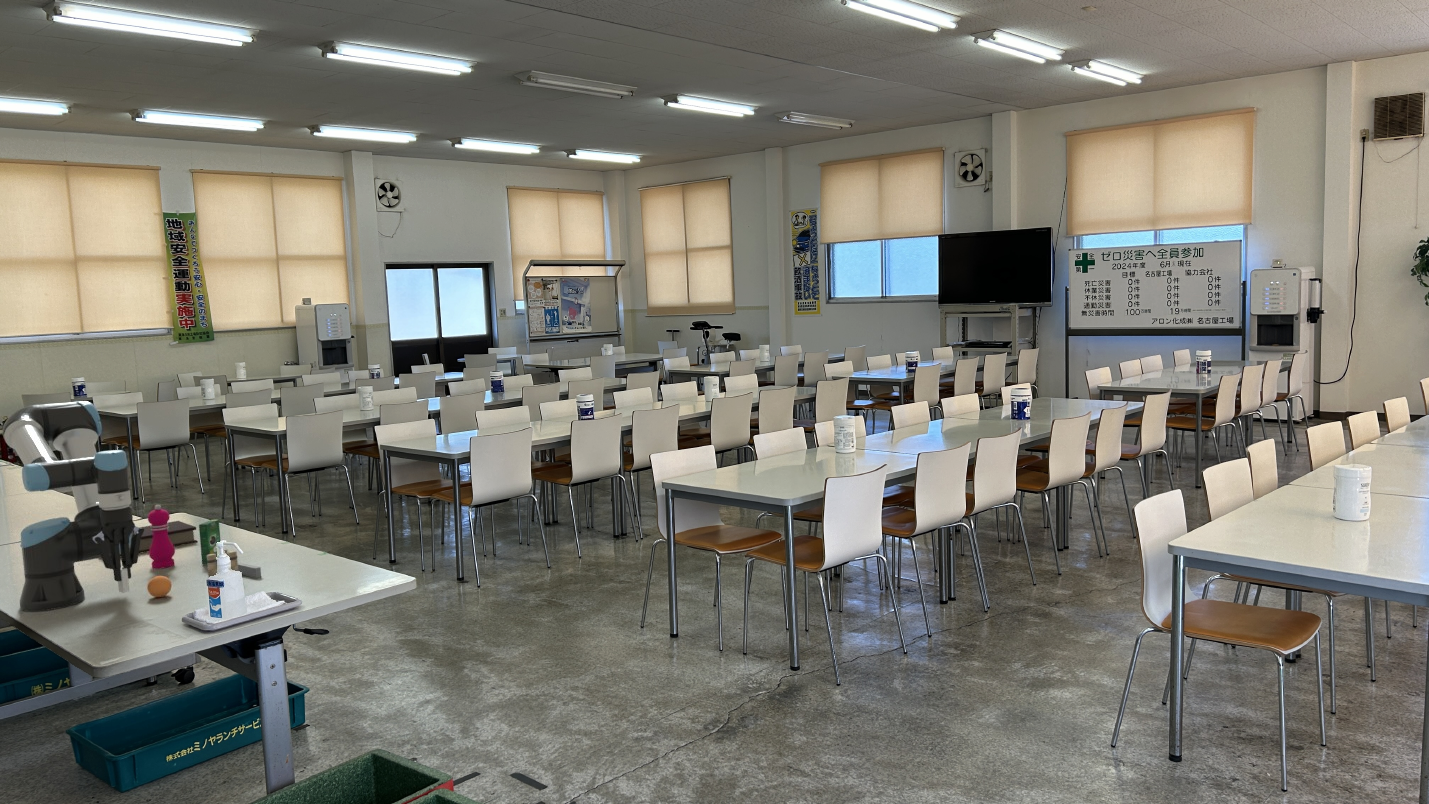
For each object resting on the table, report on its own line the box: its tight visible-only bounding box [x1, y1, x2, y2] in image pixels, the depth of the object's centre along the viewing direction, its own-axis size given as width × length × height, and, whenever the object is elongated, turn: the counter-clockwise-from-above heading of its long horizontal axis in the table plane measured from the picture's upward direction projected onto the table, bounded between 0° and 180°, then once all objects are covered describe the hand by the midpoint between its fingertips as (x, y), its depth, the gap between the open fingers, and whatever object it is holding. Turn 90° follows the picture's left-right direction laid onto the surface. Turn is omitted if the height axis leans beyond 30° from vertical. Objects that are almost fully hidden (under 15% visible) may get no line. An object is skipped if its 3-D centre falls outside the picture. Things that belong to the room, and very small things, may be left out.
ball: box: [146, 575, 172, 598], centre depth 280 cm, size 6×6×6 cm
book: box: [110, 520, 198, 558], centre depth 344 cm, size 28×20×6 cm
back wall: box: [237, 561, 262, 579], centre depth 301 cm, size 2×14×3 cm, turn 56°
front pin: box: [206, 554, 218, 578], centre depth 293 cm, size 2×2×8 cm
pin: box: [228, 550, 239, 571], centre depth 296 cm, size 2×2×8 cm
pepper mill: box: [147, 504, 176, 570], centre depth 314 cm, size 7×7×20 cm
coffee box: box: [198, 519, 221, 565], centre depth 319 cm, size 8×3×13 cm, turn 179°
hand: (124, 591), depth 272 cm, fingers closed
